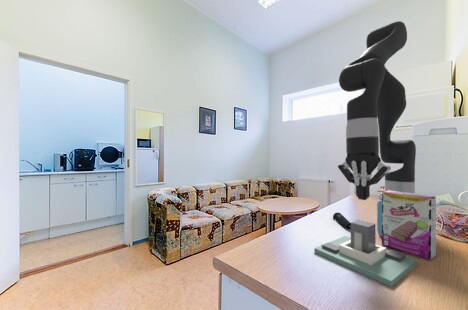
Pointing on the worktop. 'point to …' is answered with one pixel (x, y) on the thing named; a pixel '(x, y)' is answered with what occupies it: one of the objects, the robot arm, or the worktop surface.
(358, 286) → the worktop surface
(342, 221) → the electric trimmer
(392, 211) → the candy bar box
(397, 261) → the board
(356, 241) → the plug
